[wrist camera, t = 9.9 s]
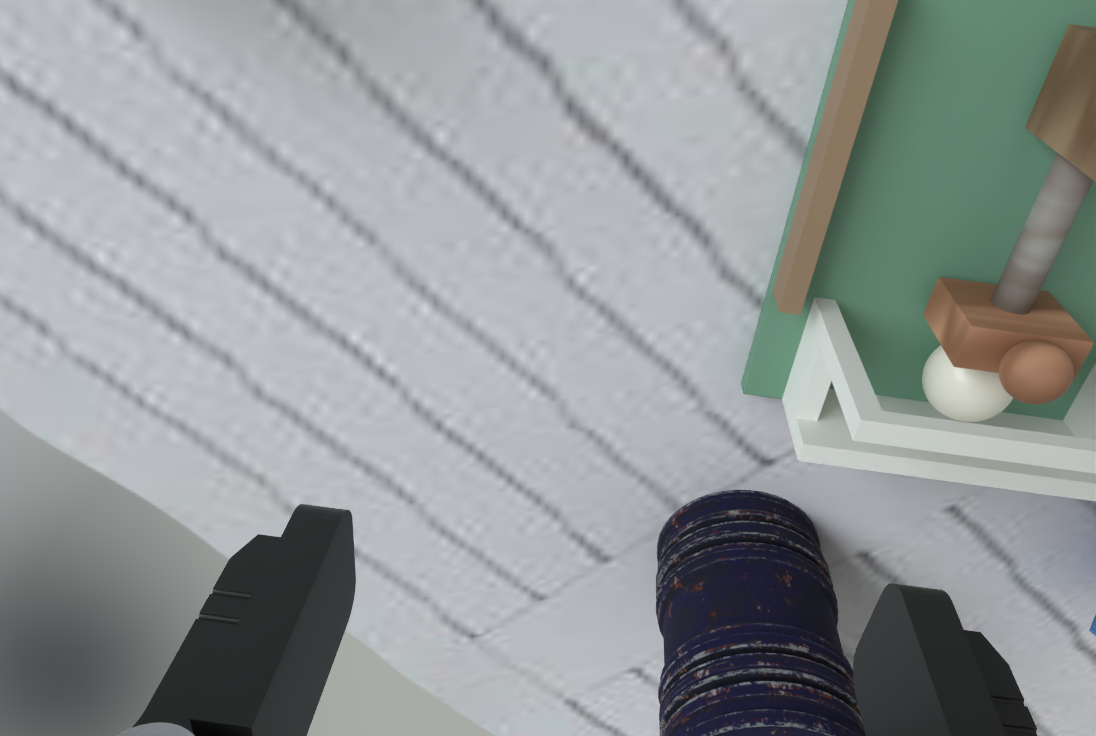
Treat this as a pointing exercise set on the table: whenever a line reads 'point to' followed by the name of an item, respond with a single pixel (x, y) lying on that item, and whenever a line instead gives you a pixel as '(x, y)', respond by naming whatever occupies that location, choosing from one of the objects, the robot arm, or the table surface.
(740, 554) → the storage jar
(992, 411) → the ball
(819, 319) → the pitch
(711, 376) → the table surface
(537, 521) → the table surface
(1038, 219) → the kicker
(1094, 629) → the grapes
